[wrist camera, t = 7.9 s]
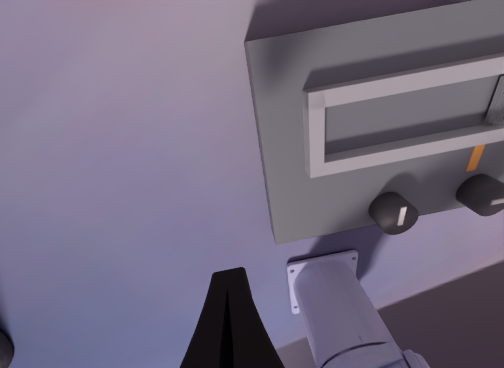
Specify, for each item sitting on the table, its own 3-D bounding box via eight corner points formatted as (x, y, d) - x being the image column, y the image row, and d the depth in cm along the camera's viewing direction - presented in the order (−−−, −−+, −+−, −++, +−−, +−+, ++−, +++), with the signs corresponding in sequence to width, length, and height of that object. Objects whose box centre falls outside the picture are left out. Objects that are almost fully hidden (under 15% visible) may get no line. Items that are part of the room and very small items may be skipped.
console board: (504, 183, 23) (554, 207, 20) (271, 229, 23) (281, 262, 19) (605, -24, 15) (722, -46, 12) (244, 42, 15) (251, 40, 11)
